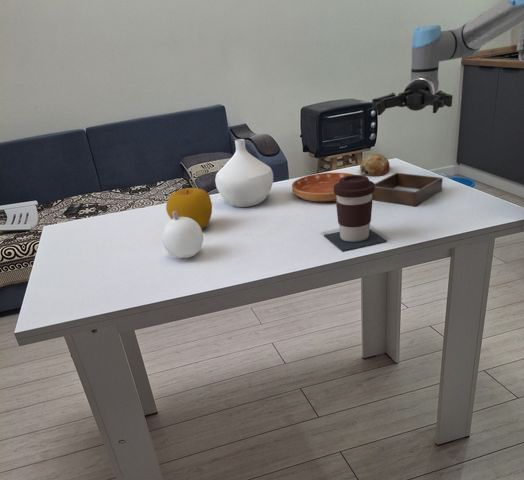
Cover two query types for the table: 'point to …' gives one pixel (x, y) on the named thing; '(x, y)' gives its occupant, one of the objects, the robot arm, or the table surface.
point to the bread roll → (374, 165)
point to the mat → (346, 246)
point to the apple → (191, 205)
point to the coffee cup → (354, 207)
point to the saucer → (318, 186)
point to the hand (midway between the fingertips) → (406, 108)
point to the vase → (244, 178)
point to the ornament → (182, 236)
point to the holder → (410, 198)
